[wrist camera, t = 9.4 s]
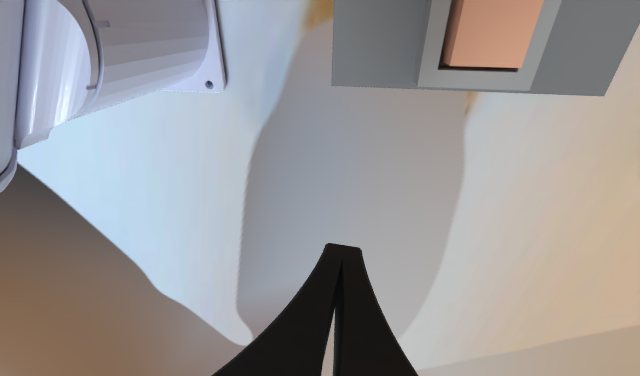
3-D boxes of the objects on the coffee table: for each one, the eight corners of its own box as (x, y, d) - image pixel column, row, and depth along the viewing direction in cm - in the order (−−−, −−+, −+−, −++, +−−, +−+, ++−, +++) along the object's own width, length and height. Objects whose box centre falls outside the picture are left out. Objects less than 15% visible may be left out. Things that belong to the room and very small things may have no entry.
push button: (439, 60, 15) (449, 65, 13) (454, -12, 13) (467, -16, 12) (502, 62, 14) (521, 68, 13) (524, -11, 13) (549, -16, 11)
